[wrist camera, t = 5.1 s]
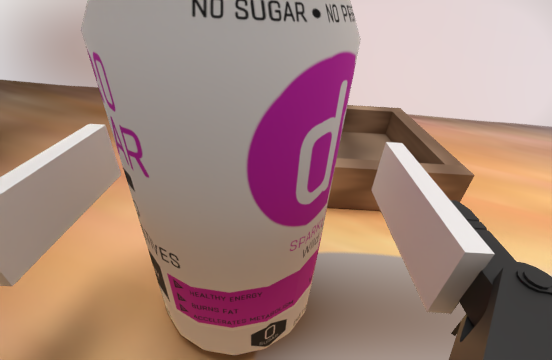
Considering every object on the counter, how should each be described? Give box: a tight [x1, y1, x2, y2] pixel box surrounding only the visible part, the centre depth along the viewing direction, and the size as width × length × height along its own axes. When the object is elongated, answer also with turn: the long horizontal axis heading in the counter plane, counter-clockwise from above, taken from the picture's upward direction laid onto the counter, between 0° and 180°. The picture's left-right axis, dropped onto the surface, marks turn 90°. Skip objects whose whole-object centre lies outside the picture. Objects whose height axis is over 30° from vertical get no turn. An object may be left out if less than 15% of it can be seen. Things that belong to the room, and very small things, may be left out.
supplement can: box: [81, 0, 360, 355], centre depth 12 cm, size 8×8×15 cm
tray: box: [327, 105, 474, 211], centre depth 28 cm, size 16×16×4 cm
